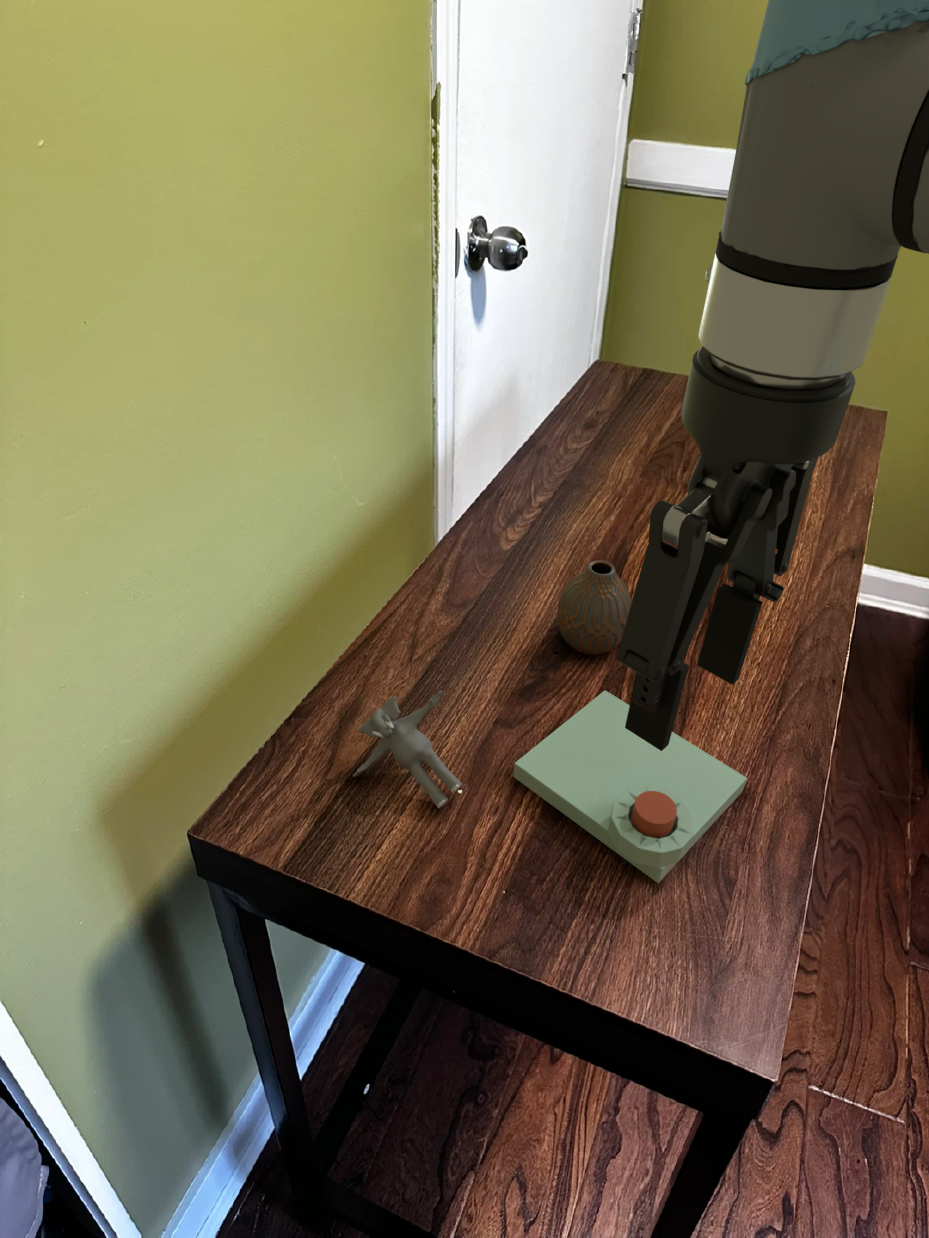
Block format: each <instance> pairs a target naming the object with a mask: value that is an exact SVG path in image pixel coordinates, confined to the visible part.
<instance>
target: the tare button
mask: <svg viewBox="0 0 929 1238" xmlns="http://www.w3.org/2000/svg"><path fill="white" fill-rule="evenodd" d="M676 814H677V808H676V805H675V803H674V802H673V800H672V799H671V798H670V797H668V796H667V795H665V794H663V793H661V792H657V791H647V792H644V793H642V794H640V795H639V796H638V797H637V798H636V800H635V804H634V808H633V812H632V822H633V825H634V826H635V828H636V829H637V830H638V831H639V832H641V833H642V834H644V835H646V836H649V837H663V836H665V835H667V834H668V833H670V831H671V830H672V828H673V825H674V821H675V818H676Z"/></svg>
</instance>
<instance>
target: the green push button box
mask: <svg viewBox="0 0 929 1238" xmlns="http://www.w3.org/2000/svg"><path fill="white" fill-rule="evenodd" d="M629 706H630V704H628V703H627V702H625V701H624V700H622V699H620V698H619V697H617V696H615V695H614V694H612V693H610V692H609V691H607V690H603V691H602V692H600V694H598V695H597V696H596V697H595V698H593V699H592V700H591V701H589V702H588V703H587V704H585V706H583V707H582V708H581V709H580V710H578V711H577V712H575V714H573V715H572V716H571V717H569V718H568V719H567V720H566V721H565V722H563V723H562V724H561V725H560V726H558V728H556V729H555V730H554V731H553V732H551V733H550V734H549V735H547V736H546V737H545V738H544V739H542V740H541V741H540V742H538V744H536V745H535V746H534V747H532V749H529V751H528V752H526V753H525V754H524V755H522V756H521V757H520V758H519V759H518V760H517V761H515V762H514V764H513V776H512V777H513V778H514V779H515V780H516V781H518V782H520V783H521V784H522V785H524V786H525V787H526V788H528V789H529V790H530V791H532V792H533V793H534V794H536V795H537V796H538V797H540V798H541V799H543V800H544V801H545V802H547V803H548V804H549V805H550V806H551V807H553V808H555V809H556V810H557V811H559V812H561V814H563V815H565V816H566V817H567V818H568V819H569V820H571V821H572V822H574V823H576V825H578V826H579V827H581V828H582V829H583V830H585V831H586V832H587V833H588V834H590V835H592V837H594V838H596V839H597V840H598V841H600V842H601V843H603V844H604V846H607V847H608V848H610V849H611V850H612V851H613V852H615V854H617V855H619V856H620V857H621V858H623V859H624V860H625V861H626V862H628V863H630V864H631V865H632V866H634V867H635V868H636V869H638V870H639V871H641V872H642V873H643V874H645V875H646V876H647V877H649V878H650V879H651V880H653V881H654V882H655V883H657V884H659V883H660V882H661V881H662V880H663V879H664V878H665V877H666V876H667V874H668V873H669V872H670V871H671V870H672V869H673V868H674V867H675V866H676V865H677V864H678V863H679V862H680V860H682V858H683V857H684V856H685V855H686V854H687V853H688V852H689V850H691V848H693V846H694V845H695V844H696V843H697V842H698V841H699V840H700V838H702V836H703V835H704V834H705V833H706V832H707V831H708V830H709V829H710V828H711V826H713V825H714V823H715V822H716V821H717V820H718V819H719V818H720V817H721V816H722V815H723V814H724V813H725V811H727V809H728V808H729V807H730V806H731V805H732V803H734V802H735V800H736V799H737V798H738V797H739V796H740V795H741V794H742V793H743V791H744V789H745V785H746V783H747V780H748V777H746V776H745V775H743V774H741V773H740V772H738V771H737V770H735V769H734V768H732V767H731V766H729V765H727V764H725V763H724V762H722V761H721V760H719V759H717V758H716V757H714V756H713V755H711V754H709V753H707V752H706V751H704V750H703V749H701V748H699V747H698V746H696V745H695V744H693V743H691V742H689V741H688V740H686V739H685V738H683V737H682V736H680V735H678V734H676V733H675V732H674V731H672V734H671V737H670V741H669V745H668V746H667V747H666V748H665V749H664V750H662V751H660V750H659V749H657V748H656V747H654V746H652V745H651V744H649V743H648V742H646V741H645V740H643V739H642V738H640V737H638V736H637V735H635V734H634V733H632V732H631V731H629V730H627V729H626V728H625V725H626V720H627V715H628V711H629ZM647 791H657V792H661V793H663V794H665V795H667V796H668V797H670V798H671V799H672V800H673V802H674V803H675V805H676V808H677V814H676V818H675V821H674V825H673V828H672V830H671V831H670V833H668V834H667V835H665V836H663V837H649V836H646V835H644V834H642V833H641V832H639V831H638V830H637V829H636V828H635V826H634V825H633V822H632V812H633V808H634V804H635V800H636V798H637V797H638V796H639V795H640V794H642V793H644V792H647Z"/></svg>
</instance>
